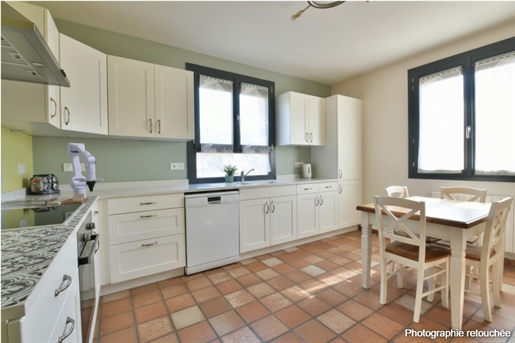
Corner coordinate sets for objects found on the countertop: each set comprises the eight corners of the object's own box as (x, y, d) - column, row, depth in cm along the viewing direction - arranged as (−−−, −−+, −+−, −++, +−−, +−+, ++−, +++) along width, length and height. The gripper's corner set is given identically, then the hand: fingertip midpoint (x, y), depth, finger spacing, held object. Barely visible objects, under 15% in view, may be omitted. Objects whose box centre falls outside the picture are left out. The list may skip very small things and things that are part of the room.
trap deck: (55, 202, 168) (55, 197, 168) (88, 200, 176) (88, 195, 176) (45, 206, 154) (44, 201, 154) (81, 204, 161) (81, 199, 161)
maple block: (76, 199, 169) (75, 194, 168) (84, 199, 171) (84, 193, 170) (73, 200, 164) (73, 195, 164) (82, 200, 166) (82, 194, 166)
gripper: (76, 173, 163) (77, 192, 163) (101, 173, 168) (101, 191, 169) (79, 173, 169) (80, 191, 170) (103, 172, 175) (104, 190, 175)
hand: (91, 191), depth 170 cm, fingers closed
